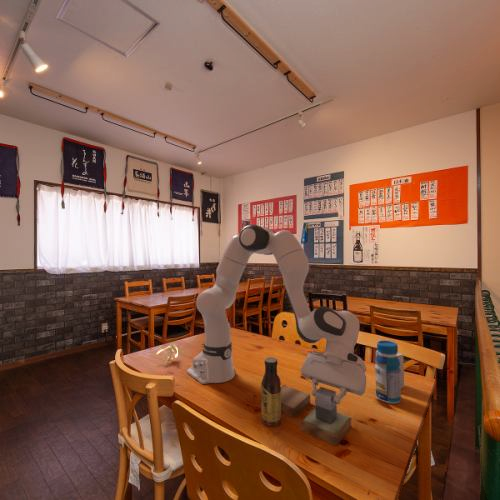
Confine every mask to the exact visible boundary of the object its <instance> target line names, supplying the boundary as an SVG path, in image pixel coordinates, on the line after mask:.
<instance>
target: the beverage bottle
mask: <svg viewBox="0 0 500 500" xmlns="http://www.w3.org/2000/svg"><path fill="white" fill-rule="evenodd" d="M398 349H399V348H398V343H396V342H394V341H391V340H378V341H377V343H376V351H377V350H378V352H379V353H378V354H377V356H376V355H375V359H374V361H375V366H374V370H375V397H376V398H377V399H379V400H380V401H381V402H384V403H387V404H393V405H394V404H395V405H396V404H398V403H400V402H401V401H402V395H401V393H402V391H401V389H402V388H401V385H400V374H401V369H400V367H399V366H400V361H399V359H398V357H397V356H396V355H397V353H399V351H398Z"/></svg>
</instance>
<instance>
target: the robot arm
mask: <svg viewBox="0 0 500 500" xmlns="http://www.w3.org/2000/svg"><path fill="white" fill-rule="evenodd" d="M253 254H258V255H265V256H266V255H267V256H268V255H269V256H270V255H271V256H272V255H273V257H274V258H275V261H276V263H277V265H278V268H279V271H280V274H281V276H282V280H283V283H284V288H285V291H286V295H287V298H288V301H289V303H290V307H291V308H292V310H291V311H292V313H293V315H294V318H295V327H296V329H295V330H296V332H297V335H298V336H299V338H300V339H301V340H302V341H304V342H306V343H309V344H315V343H317V342H319V341H320V340H323V339H325V340H326V341H327V342H326V346H325V347H324V348H325V349H324V351H323V353H322V352H318V351H316V350H313V351H310V352H307V354H306V357H305V360H304V361H303V364H301V368H300V373H301V375H302V377H303V378H305V379H307V380H310V381H311V385H312V389H311V390H312V391H311V395H312V396H314V397H315V391H317V390H318V389H319V388H317V386H319V383H320V384H323V385H326V386H329V387H332V388H336V389H337V390H339V391H340V392H339V393H338V394H336V395H334V399H333V402H334V403H336V404H337V405H340V403H341V400H343V398H344V397H345V396H347V393H351V394H354V395H358V396H360V397H362V396H363V395H364V394H365V392H366V388H367V376H366V373H365V372H366V371H367V367H366V364H365V362H364V360H363V359H362V358H361V357H360V356H358V355H357V354H355V353H354V352H355V351H354V350H355V349H354V348H355V346H356V344H357V343H358V338H359V333H360V327H361V326H360V320H359V318H358V316H357V315H355V314H354V313H352V312H351V311H348V310H335V309H333V308H331V307H329V306H325V305H324V306H322V305H321V306H319V307H317V308H315V309H313V310H312V311H311V309H310V307H309V305H308V301H307V299H306V295H305V293H304V285H305V281H306V278H307V277H308V276H307V275H308V274H309V270H310V262H309V259H308V256H307V254H306V253H305V250H304V249H303V247H302V245H301V243H300V242H299V241H298V239H297V238H296V236H295V235H294V234H293V233H292V231H290V230H287V229H283V230H279V231H277V232H276V231H274V230H272V229H270V228H268V227H265V226H260V225H257V224H248V225H245V226H243V228H242V229H241V230H240V232H239V234H235V235H234V236H233V237H231V239H230V241H229V242H228V244H227V246H226V248H225V249H224V251H223V253H222V255H221V258H220V260H219V263H218V265H217V267H216V269H215V270H216V271H215V273H216V277H215V283H214V285H213V286H212V287H210V288H206V289H205V290H203V291H202V292H200V293H199V295H198V296H197V298H196V301H195V302H196V303H195V306H196V309H197V310H198V312H199V313H200V315H201V316H202V320H203V324H204V336H205V337H204V339H205V340H204V341H205V342H204V343H201V345H200V346H201V348H202V347H203V349H202V351H200V353H199V354H197V355H196V356H194V358H193V360H192V366H190V367H189V368H188V369H187V370H186V373H187V375H189V376H191V377H192V378H194V379H195V380H196V381H198V382H199V383H200V384H203V385H205V384H221V383H225V382H228V381H231V380H233V379H234V378H235V376H236V373H235V366H234V362H233V354H232V352H233V351H232V350H233V345H232V340H231V324H230V322H229V321H228V317H227V309H229V308H230V307H231V306H232V305H233V304H234V302H235V301H236V300H237V299H236V298H237V290H238V287H239V283H240V280H241V278H242V276H243V274H244V271H245V269H246V266H247V264H248V262H249V259H250V257H251V256H252V255H253Z"/></svg>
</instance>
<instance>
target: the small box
mask: <svg viewBox="0 0 500 500" xmlns="http://www.w3.org/2000/svg"><path fill="white" fill-rule="evenodd" d="M378 353H379V352H378V350H377V349H376V350H375V357H376V356H377V354H378ZM396 356H397V357H398V359H399V361H400V366H399V367H400V369H401V374H400V385H401V389H404V388H405V369H404V364H405V363H404V354H402V353H400V352H398V353H397V355H396Z"/></svg>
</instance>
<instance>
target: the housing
mask: <svg viewBox="0 0 500 500" xmlns="http://www.w3.org/2000/svg"><path fill="white" fill-rule="evenodd" d="M317 389H318V390H317V391H315V396H314V399H315V400H314V401H315V404H314V405H315V406H314V407H315V408H314V409H315V413H316V418H317V419H319V420H321V421H324V422H326V423H329V424H332V423H333V422H334V421H335V420H336V418H337V413H338V411H337V407H338V406H337V405H338V404H336V403H334V402H333V399H334V395H336V396H337V391H335V390H332V389H329V388H326V387H323V386H320V387H319V388H317Z"/></svg>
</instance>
